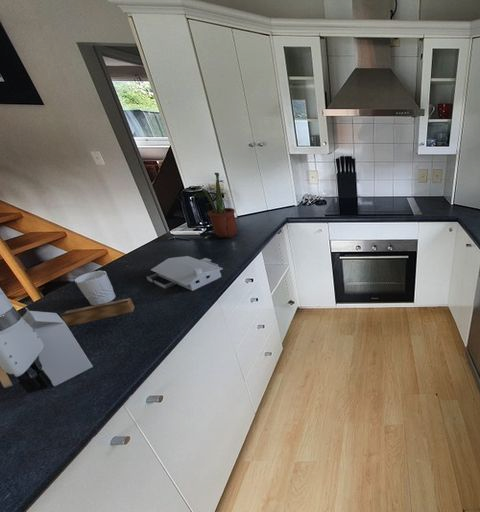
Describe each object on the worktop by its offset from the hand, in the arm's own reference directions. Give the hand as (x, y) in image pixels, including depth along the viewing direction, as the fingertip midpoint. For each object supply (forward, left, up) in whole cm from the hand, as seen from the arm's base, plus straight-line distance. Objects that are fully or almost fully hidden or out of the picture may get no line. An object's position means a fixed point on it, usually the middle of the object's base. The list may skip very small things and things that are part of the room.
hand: (40, 387), depth 61 cm
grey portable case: (+24, +54, -5) cm, 59 cm away
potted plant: (+36, +93, -5) cm, 100 cm away
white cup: (-3, +47, -5) cm, 47 cm away
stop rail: (0, +35, -5) cm, 35 cm away
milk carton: (0, +10, -5) cm, 11 cm away
